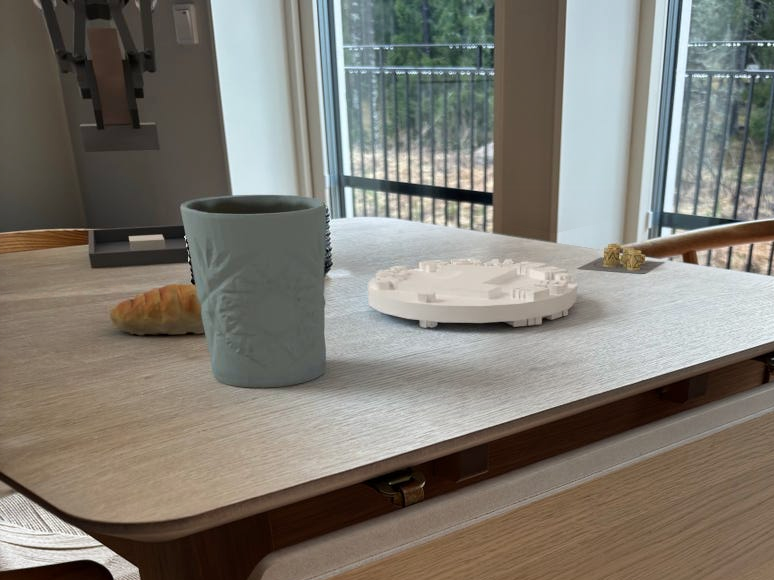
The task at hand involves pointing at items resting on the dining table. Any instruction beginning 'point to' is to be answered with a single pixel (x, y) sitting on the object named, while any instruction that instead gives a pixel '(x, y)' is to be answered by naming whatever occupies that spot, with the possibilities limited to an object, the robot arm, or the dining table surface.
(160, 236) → the beige square block
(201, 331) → the pastry
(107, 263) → the tray
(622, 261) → the dice set
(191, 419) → the dining table surface
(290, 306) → the grey-green embossed cup
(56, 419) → the dining table surface
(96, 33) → the brown grey t-shaped piece
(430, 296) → the white round plaque
